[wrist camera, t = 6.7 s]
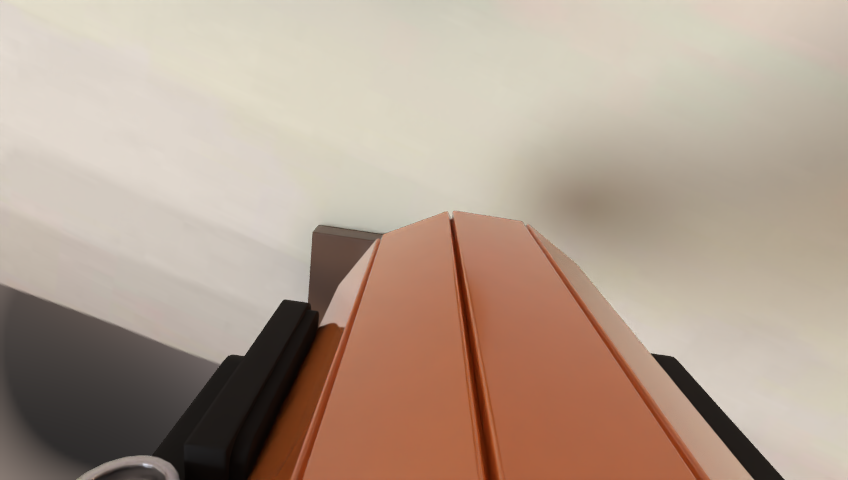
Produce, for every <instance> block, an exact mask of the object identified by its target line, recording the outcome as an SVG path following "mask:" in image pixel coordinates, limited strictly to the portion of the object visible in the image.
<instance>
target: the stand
mask: <svg viewBox="0 0 848 480" xmlns="http://www.w3.org/2000/svg"><path fill="white" fill-rule="evenodd" d="M382 235H383V234H376V233H369V232H362V231H355V230H348V229H342V228H335V227H328V226H321V225H318V226H317V228H316V229H315V230H314V231H313V235H312V251H311V266H310V281H309V296H308V303H310V304H311V310H314V311H318V312H319V324H318V328H319V326H320V324H321V322H322V320H323V318H324V315H325V313H326V311H327V309H328V307H329V305H330V303H331V300H332V298H333V296H334V294H335V292H336V290H337V288H338V285H339V284H340V283H341V282H342V280H343V279H344V278H345V277H346V276H347V274H348V273H349V272H350V271H351V270H352V268H353V267H354V266H355V265H356V263H357V262H358V261H359V260H360V259H361V257H362V256H363V255H364V254H365V253H366V251H367V250H368V249H369V248H370V246H371V245H372V244H373V243H374V242H375V240H376V239H378V238H379V239H380V240H381V238H382Z"/></svg>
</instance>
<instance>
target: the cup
mask: <svg viewBox="0 0 848 480" xmlns="http://www.w3.org/2000/svg"><path fill="white" fill-rule="evenodd" d="M248 480H754V479H753V478H752V477H751V476H750V475H749V473H748V472H747V471H746V470H745V468H744V467H743V466H742V465H741V464H740V462H739V461H738V460H737V459H736V457H735V456H734V455H733V454H732V453H731V451H730V450H729V449H728V448H727V446H726V445H725V444H724V443H723V442H722V440H721V439H720V438H719V437H718V435H717V434H716V433H715V432H714V431H713V429H712V428H711V427H710V426H709V424H708V423H707V422H706V421H705V420H704V418H703V417H702V416H701V415H700V414H699V412H698V411H697V410H696V409H695V407H694V406H693V405H692V404H691V403H690V401H689V400H688V399H687V398H686V396H685V395H684V394H683V393H682V392H681V390H680V389H679V388H678V387H677V385H676V384H675V383H674V382H673V381H672V379H671V378H670V377H669V376H668V374H667V373H666V372H665V371H664V370H663V368H662V367H661V366H660V365H659V363H658V362H657V361H656V360H655V359H654V357H653V356H652V355H651V354H650V353H649V351H648V350H647V349H646V348H645V346H644V345H643V344H642V343H641V342H640V340H639V339H638V338H637V337H636V335H635V334H634V333H633V332H632V331H631V329H630V328H629V327H628V326H627V324H626V323H625V322H624V321H623V320H622V318H621V317H620V316H619V315H618V313H617V312H616V311H615V310H614V309H613V307H612V306H611V305H610V304H609V302H608V301H607V300H606V299H605V298H604V296H603V295H602V294H601V293H600V292H599V290H598V289H597V288H596V287H595V285H594V284H593V283H592V282H591V281H590V279H589V278H588V277H587V276H586V274H585V273H584V272H583V271H582V270H581V268H580V267H579V266H578V265H577V264H576V263H575V262H574V261H573V260H571V259H570V258H569V257H568V256H567V255H565V254H564V253H563V252H562V251H561V250H559V249H558V248H557V247H556V246H555V245H553V244H552V243H551V242H550V241H549V240H547V239H546V238H545V237H544V236H543V235H541V234H540V233H539V232H538V231H537V230H535V229H534V228H533V227H532V226H531V225H529V224H527V225H526V226H525V224H524V223H523V222H522V221H517V220H511V219H505V218H498V217H492V216H486V215H479V214H473V213H467V212H460V211H453V213H452V218H451V217H450V215H449V213H448V212H443V213H441V214H438V215H435V216H432V217H430V218H427V219H424V220H421V221H419V222H416V223H413V224H410V225H408V226H405V227H402V228H399V229H397V230H394V231H391V232H388V233H385V234H383V235H382V238H381V240H380V239H379V238H378V239H376V240H375V242H374V243H373V244H372V245H371V246H370V248H369V249H368V250H367V251H366V253H365V254H364V255H363V256H362V257H361V259H360V260H359V261H358V262H357V263H356V265H355V266H354V267H353V268H352V270H351V271H350V272H349V273H348V274H347V276H346V277H345V278H344V279H343V280H342V282H341V283H340V284H339V285H338V288H337V290H336V292H335V294H334V296H333V298H332V300H331V303H330V305H329V307H328V309H327V311H326V313H325V315H324V318H323V320H322V322H321V324H320V326H319V328H318V330H317V333H316V335H315V337H314V339H313V341H312V343H311V345H310V348H309V350H308V352H307V354H306V356H305V358H304V360H303V363H302V365H301V367H300V369H299V371H298V373H297V375H296V378H295V380H294V382H293V384H292V386H291V388H290V390H289V393H288V395H287V397H286V399H285V401H284V403H283V405H282V408H281V410H280V412H279V414H278V416H277V418H276V420H275V423H274V425H273V427H272V429H271V431H270V433H269V435H268V438H267V440H266V442H265V444H264V446H263V448H262V450H261V453H260V455H259V457H258V459H257V461H256V463H255V465H254V468H253V470H252V472H251V474H250V476H249V478H248Z"/></svg>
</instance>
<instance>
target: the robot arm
mask: <svg viewBox="0 0 848 480" xmlns="http://www.w3.org/2000/svg"><path fill="white" fill-rule="evenodd" d="M318 324H319V312H318V311H314V310H311V304H310V303H305V302H298V301H291V300H283V301H282V303H281V304H280V305H279V307H278V308H277V310H276V311H275V313H274V314H273V316H272V317H271V318H270V320H269V321H268V323H267V324H266V326H265V327H264V329H263V330H262V332H261V333H260V334H259V336H258V337H257V339H256V340H255V342H254V343H253V345H252V346H251V347H250V349H249V350H248V352H247V353H246V355H245V356H239V355H230V356H228V357H227V358H226V359H225V360H224V361H223V362H222V364H221V365H220V366H219V368H218V369H217V370H216V372H215V373H214V374H213V376H212V377H211V379H210V380H209V381H208V382H207V384H206V385H205V386H204V388H203V389H202V390H201V392H200V393H199V394H198V396H197V397H196V399H194V401H193V402H192V403H191V405H190V406H189V408H188V409H187V410H186V411H185V413H184V414H183V415H182V417H181V418H180V419H179V421H178V422H177V423H176V425H175V426H174V427H173V429H172V430H171V431H170V433H169V434H168V435H167V437H166V438H165V439H164V441H163V442H162V443H161V445H160V446H159V447H158V449H157V450H156V451H155V452H154V454H153V455H152V456H145V455H141V456H131V457H124V458H121V459H117V460H114V461H111V462H107V463H104V464H102V465H101V466H98V467H96V468H94V469H92V470H90V471H88V472H86V473H85V474H84V475H82V476H81V477H79V478H78V479H77V480H248V478H249V476H250V474H251V472H252V470H253V468H254V465H255V463H256V461H257V459H258V457H259V455H260V453H261V450H262V448H263V446H264V444H265V442H266V440H267V438H268V435H269V433H270V431H271V429H272V427H273V425H274V423H275V420H276V418H277V416H278V414H279V412H280V410H281V408H282V405H283V403H284V401H285V399H286V397H287V395H288V393H289V390H290V388H291V386H292V384H293V382H294V380H295V378H296V375H297V373H298V371H299V369H300V367H301V365H302V363H303V360H304V358H305V356H306V354H307V352H308V350H309V348H310V345H311V343H312V341H313V339H314V337H315V335H316V333H317V330H318ZM650 354H651V355H652V356H653V357H654V359H655V360H656V361H657V362H658V363H659V365H660V366H661V367H662V368H663V370H664V371H665V372H666V373H667V374H668V376H669V377H670V378H671V379H672V381H673V382H674V383H675V384H676V385H677V387H678V388H679V389H680V390H681V392H682V393H683V394H684V395H685V396H686V398H687V399H688V400H689V401H690V403H691V404H692V405H693V406H694V407H695V409H696V410H697V411H698V412H699V414H700V415H701V416H702V417H703V418H704V420H705V421H706V422H707V423H708V424H709V426H710V427H711V428H712V429H713V431H714V432H715V433H716V434H717V435H718V437H719V438H720V439H721V440H722V442H723V443H724V444H725V445H726V446H727V448H728V449H729V450H730V451H731V453H732V454H733V455H734V456H735V457H736V459H737V460H738V461H739V462H740V464H741V465H742V466H743V467H744V468H745V470H746V471H747V472H748V473H749V475H750V476H751V477H752V478H753V479H754V480H784V479H783V478H782V476H781V475H780V474H779V473H778V472H777V471H776V470H775V469H774V468H773V466H772V465H771V464H770V463H769V462H768V461H767V460H766V459H765V457H764V456H763V455H762V454H761V453H760V452H759V451H758V450H757V449H756V447H755V446H754V445H753V444H752V443H751V442H750V441H749V440H748V439H747V437H746V436H745V435H744V434H743V433H742V432H741V431H740V430H739V429H738V427H737V426H736V425H735V424H734V423H733V422H732V421H731V420H730V418H729V417H728V416H727V415H726V414H725V413H724V412H723V411H722V410H721V408H720V407H719V406H718V405H717V404H716V403H715V402H714V401H713V400H712V398H711V397H710V396H709V395H708V394H707V393H706V392H705V391H704V390H703V388H702V387H701V386H700V385H699V384H698V383H697V382H696V381H695V380H694V378H693V377H692V376H691V375H690V374H689V373H688V372H687V371H686V369H685V368H684V367H683V366H682V365H681V364H680V363H679V362H678V361H677V360H676V359H675V358H674V357H671V356H665V355H658V354H652V353H650Z"/></svg>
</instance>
